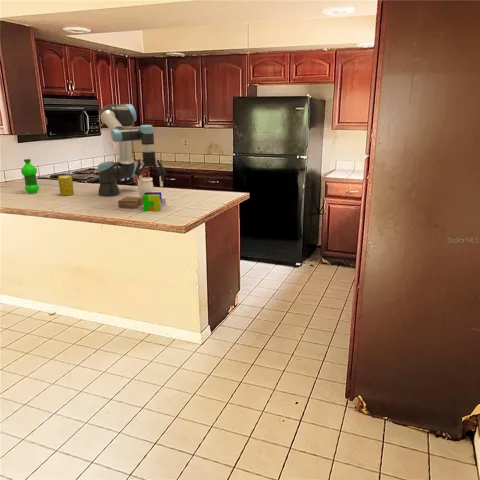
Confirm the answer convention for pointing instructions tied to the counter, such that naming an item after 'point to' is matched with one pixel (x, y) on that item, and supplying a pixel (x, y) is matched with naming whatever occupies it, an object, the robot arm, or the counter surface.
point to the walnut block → (130, 202)
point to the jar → (145, 186)
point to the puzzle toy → (152, 201)
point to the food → (66, 185)
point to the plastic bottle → (30, 177)
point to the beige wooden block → (163, 201)
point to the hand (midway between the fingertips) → (151, 186)
